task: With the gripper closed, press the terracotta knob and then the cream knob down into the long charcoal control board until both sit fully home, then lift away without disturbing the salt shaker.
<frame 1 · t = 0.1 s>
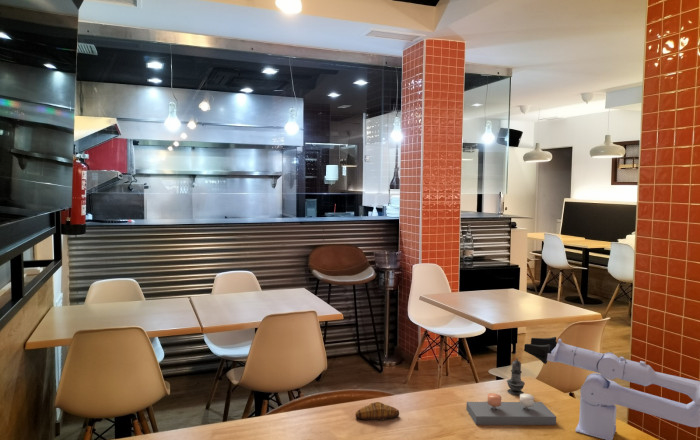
hand: (527, 344, 151), 22 cm above the table, tool horizontal, fingers open, 7 cm apart
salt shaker: (515, 392, 167), on the table
croissant: (377, 418, 146), on the table
control board: (509, 416, 149), on the table
knob 2: (526, 403, 149), point 4 cm above the table, slide at 0.0 cm
knob 1: (494, 403, 148), point 4 cm above the table, slide at 0.0 cm
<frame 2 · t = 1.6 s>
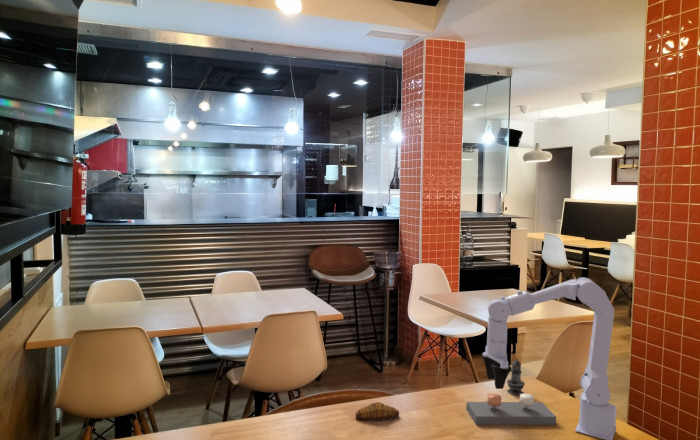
hand: (495, 383, 148), 10 cm above the table, tool pointing down, fingers open, 7 cm apart
nothing on the table moved.
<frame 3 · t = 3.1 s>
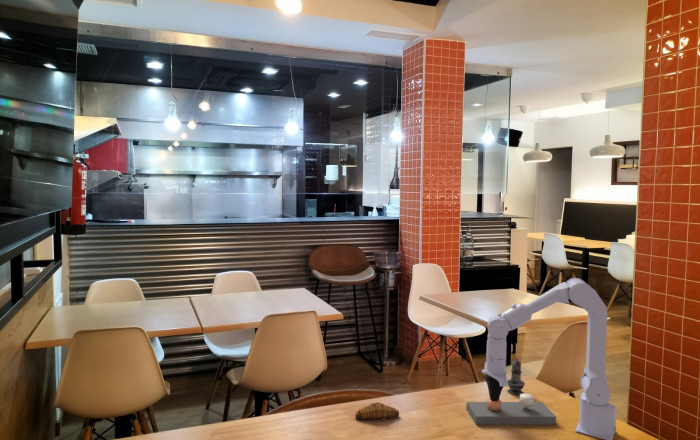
hand: (494, 400, 148), 5 cm above the table, tool pointing down, fingers closed, pressing on knob 1
knob 1: (494, 408, 148), point 3 cm above the table, slide at 1.3 cm, touching gripper
everything else where it was.
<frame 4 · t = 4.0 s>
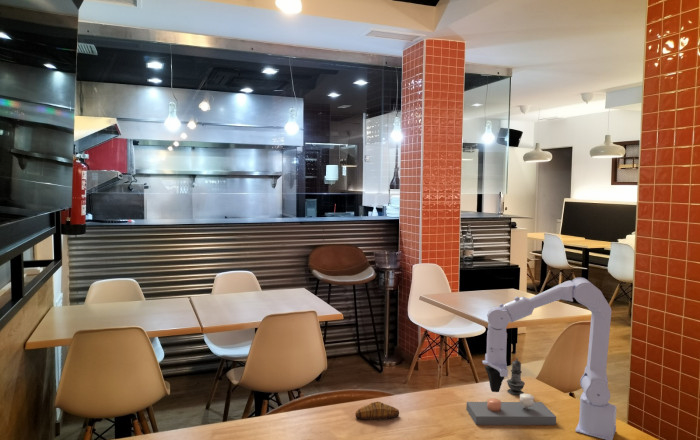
hand: (495, 391, 148), 8 cm above the table, tool pointing down, fingers closed
knob 1: (493, 408, 148), point 2 cm above the table, slide at 1.6 cm, touching control board
everything else where it was.
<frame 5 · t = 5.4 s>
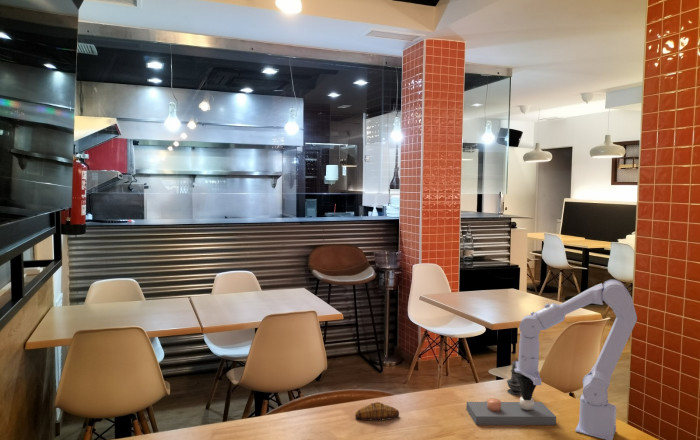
hand: (526, 399, 149), 6 cm above the table, tool pointing down, fingers closed, pressing on knob 2
knob 2: (526, 406, 149), point 3 cm above the table, slide at 0.9 cm, touching gripper
everything else where it was.
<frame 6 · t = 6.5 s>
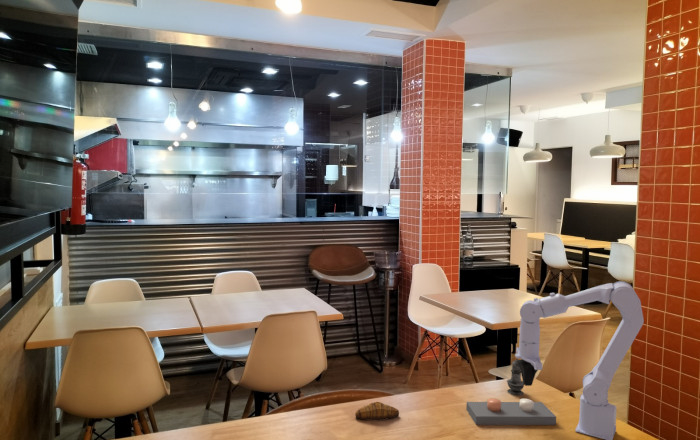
hand: (527, 384, 148), 10 cm above the table, tool pointing down, fingers closed
knob 2: (526, 409, 149), point 3 cm above the table, slide at 1.6 cm
everything else where it was.
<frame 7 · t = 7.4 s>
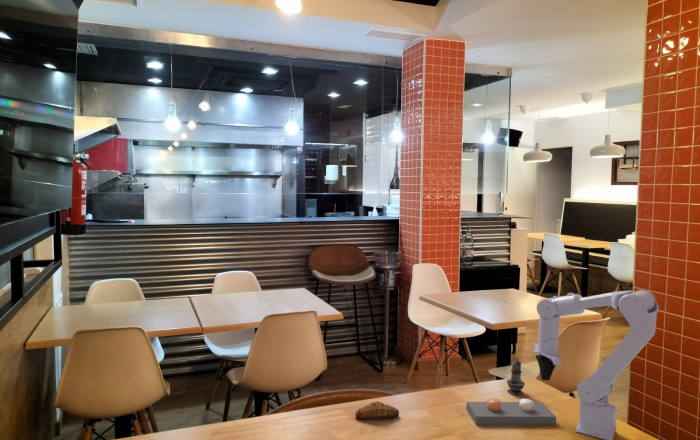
hand: (545, 379, 152), 10 cm above the table, tool pointing down, fingers closed
nothing on the table moved.
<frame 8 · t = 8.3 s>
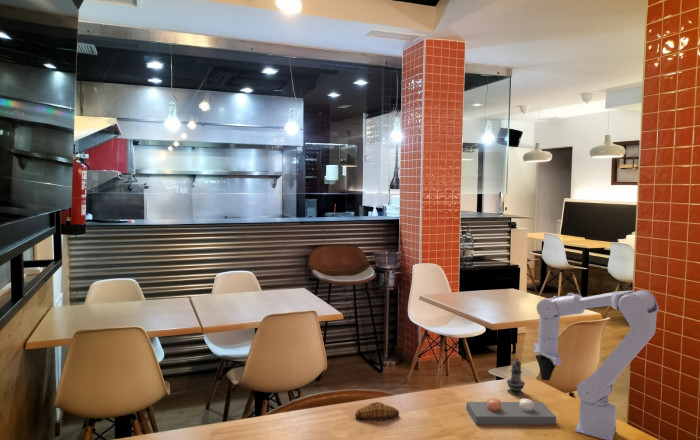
hand: (545, 379, 152), 10 cm above the table, tool pointing down, fingers closed
nothing on the table moved.
at the end: knob 1 slide at 1.6 cm; knob 2 slide at 1.6 cm; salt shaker moved 0.2 cm from its start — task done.
